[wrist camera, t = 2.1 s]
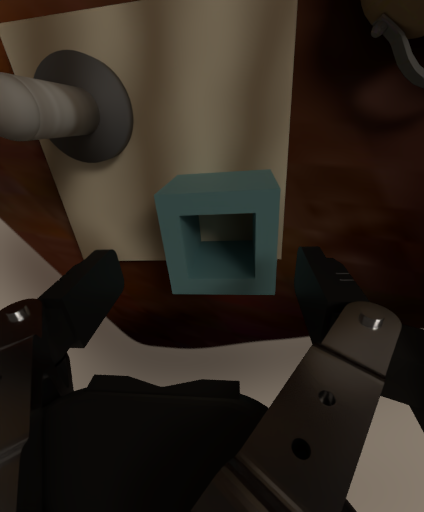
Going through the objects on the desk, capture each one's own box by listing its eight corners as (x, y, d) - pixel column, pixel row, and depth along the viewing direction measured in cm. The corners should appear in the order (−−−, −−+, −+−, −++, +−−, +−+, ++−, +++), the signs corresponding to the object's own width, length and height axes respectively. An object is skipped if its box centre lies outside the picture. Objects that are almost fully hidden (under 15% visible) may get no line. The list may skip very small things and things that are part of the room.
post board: (293, -11, 13) (363, -193, 5) (278, 249, 20) (299, 327, 12) (17, 32, 15) (-208, -54, 7) (93, 252, 22) (17, 320, 15)
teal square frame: (270, 169, 16) (280, 188, 11) (267, 253, 18) (274, 294, 14) (177, 174, 16) (153, 194, 12) (188, 254, 19) (172, 294, 15)
